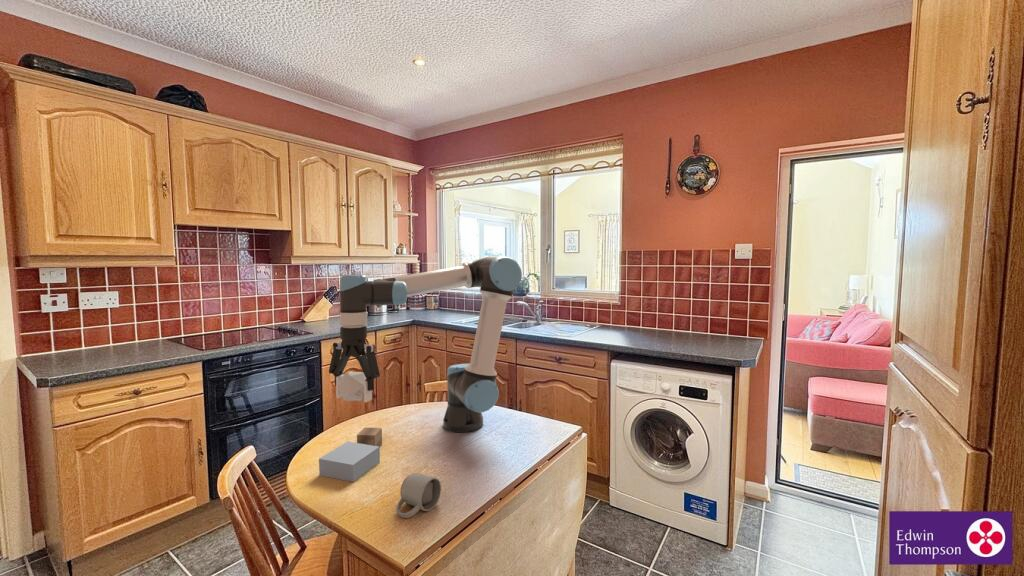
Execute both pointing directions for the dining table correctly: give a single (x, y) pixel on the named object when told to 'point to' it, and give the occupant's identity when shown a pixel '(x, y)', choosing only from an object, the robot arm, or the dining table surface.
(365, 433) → the walnut cube
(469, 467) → the dining table surface
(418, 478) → the ceramic mug
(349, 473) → the plinth
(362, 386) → the die
